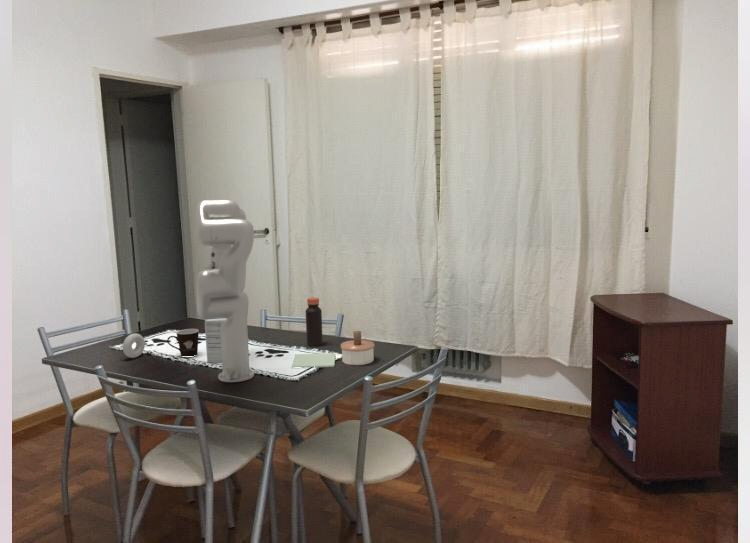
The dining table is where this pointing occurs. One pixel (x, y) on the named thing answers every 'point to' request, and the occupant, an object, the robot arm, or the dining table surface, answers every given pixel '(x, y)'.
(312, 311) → the bottle
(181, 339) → the coffee mug
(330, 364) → the mat
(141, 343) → the donut
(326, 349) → the dining table surface
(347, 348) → the lid
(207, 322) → the supplement box
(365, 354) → the bowl
